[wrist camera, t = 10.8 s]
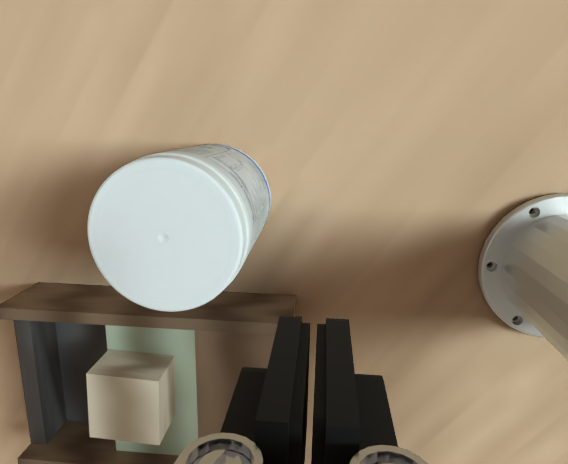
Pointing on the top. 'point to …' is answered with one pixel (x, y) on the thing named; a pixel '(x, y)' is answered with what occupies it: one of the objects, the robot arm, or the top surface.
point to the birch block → (131, 396)
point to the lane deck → (139, 338)
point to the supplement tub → (178, 224)
